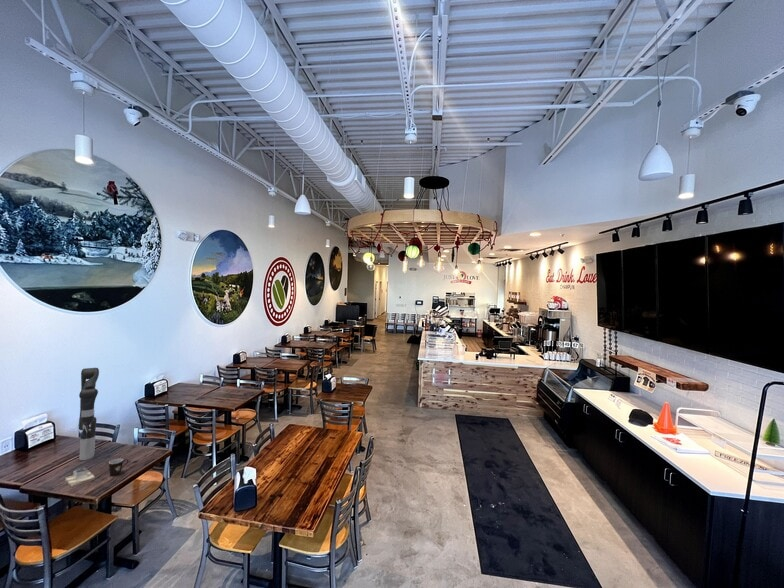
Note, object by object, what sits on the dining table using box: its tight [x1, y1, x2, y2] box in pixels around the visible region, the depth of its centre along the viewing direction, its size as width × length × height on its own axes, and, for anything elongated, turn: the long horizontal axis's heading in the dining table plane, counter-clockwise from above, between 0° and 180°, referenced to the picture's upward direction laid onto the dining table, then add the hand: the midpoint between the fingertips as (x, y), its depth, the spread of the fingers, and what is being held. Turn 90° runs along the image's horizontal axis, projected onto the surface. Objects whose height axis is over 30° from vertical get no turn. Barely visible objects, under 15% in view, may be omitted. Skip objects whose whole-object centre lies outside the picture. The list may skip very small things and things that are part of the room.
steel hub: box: [72, 467, 89, 481], centre depth 243 cm, size 6×6×5 cm
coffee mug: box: [108, 458, 129, 478], centre depth 252 cm, size 12×9×10 cm
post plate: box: [64, 469, 96, 488], centre depth 243 cm, size 16×13×6 cm
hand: (86, 435), depth 253 cm, fingers open, 8 cm apart
